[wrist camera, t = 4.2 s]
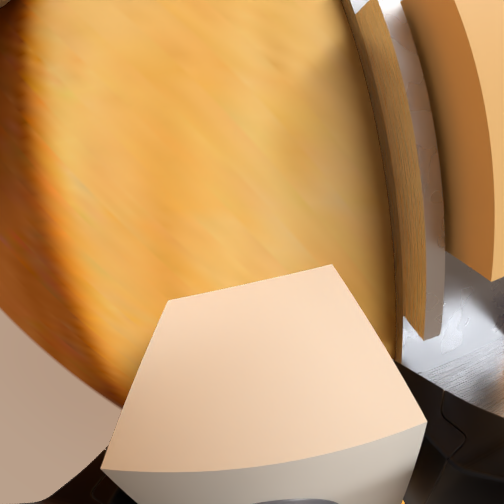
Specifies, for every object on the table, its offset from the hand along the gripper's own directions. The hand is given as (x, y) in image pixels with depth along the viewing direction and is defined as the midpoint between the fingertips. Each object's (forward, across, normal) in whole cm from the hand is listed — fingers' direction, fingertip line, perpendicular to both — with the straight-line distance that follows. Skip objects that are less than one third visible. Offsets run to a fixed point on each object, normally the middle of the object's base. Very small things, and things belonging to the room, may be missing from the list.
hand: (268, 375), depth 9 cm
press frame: (+7, -12, -1) cm, 14 cm away
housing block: (+1, 0, 0) cm, 1 cm away
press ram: (+6, -12, -6) cm, 15 cm away
